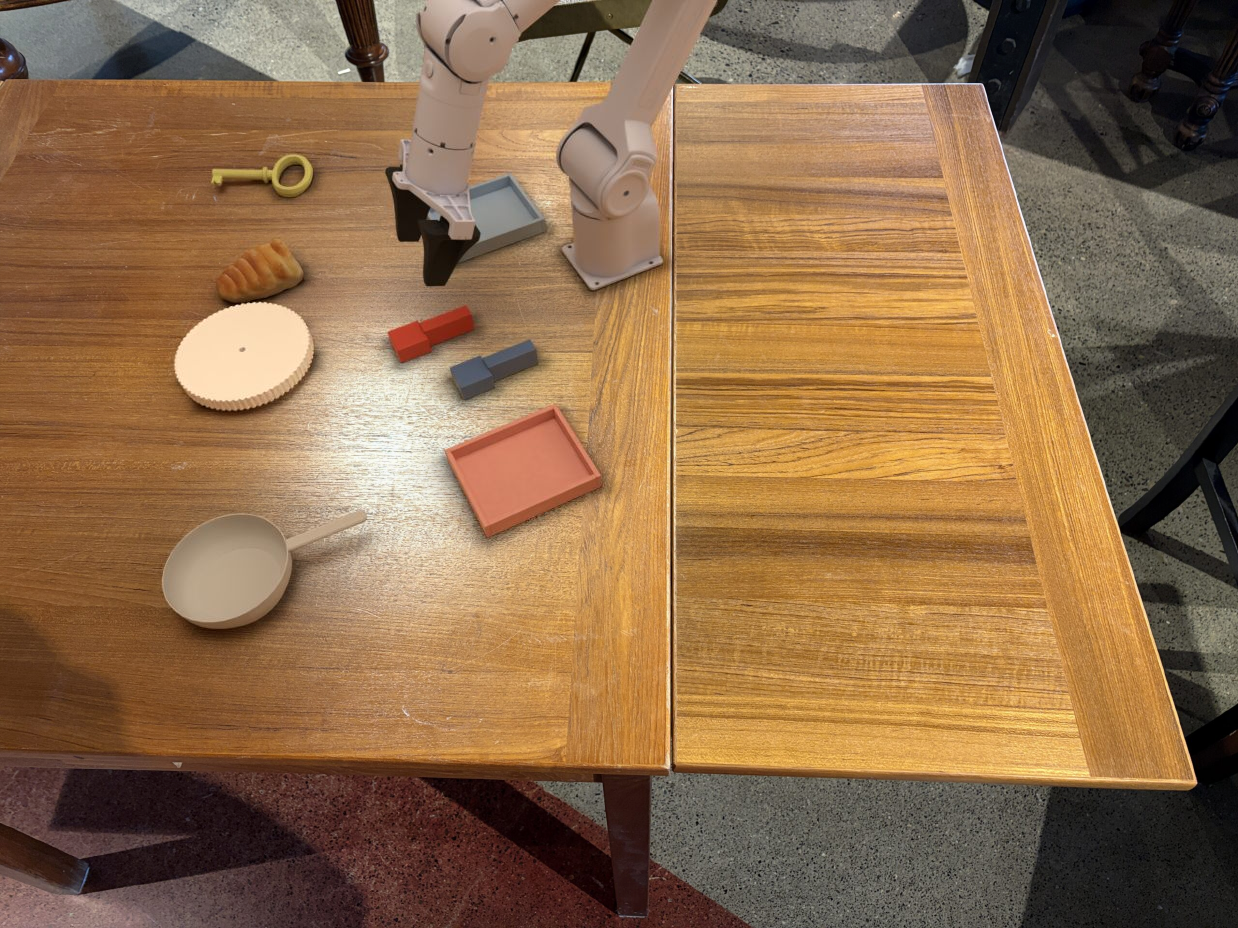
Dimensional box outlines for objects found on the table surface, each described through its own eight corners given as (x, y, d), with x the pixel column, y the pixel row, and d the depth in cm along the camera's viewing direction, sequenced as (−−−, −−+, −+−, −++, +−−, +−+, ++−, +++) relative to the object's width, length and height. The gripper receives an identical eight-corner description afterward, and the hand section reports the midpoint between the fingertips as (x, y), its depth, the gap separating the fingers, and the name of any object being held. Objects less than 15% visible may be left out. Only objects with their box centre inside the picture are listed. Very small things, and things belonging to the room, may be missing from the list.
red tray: (557, 415, 91) (555, 403, 90) (601, 486, 86) (601, 475, 85) (447, 461, 88) (444, 449, 87) (487, 538, 83) (484, 527, 82)
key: (213, 182, 114) (206, 168, 112) (309, 158, 117) (304, 144, 115) (221, 217, 110) (214, 202, 109) (320, 191, 113) (315, 177, 111)
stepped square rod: (529, 349, 97) (526, 334, 95) (541, 369, 95) (539, 353, 93) (452, 379, 94) (448, 364, 92) (464, 400, 93) (460, 385, 91)
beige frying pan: (171, 558, 83) (153, 536, 79) (362, 490, 86) (351, 468, 83) (188, 658, 77) (168, 639, 74) (391, 581, 81) (381, 560, 78)
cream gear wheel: (311, 307, 101) (304, 290, 99) (322, 398, 93) (315, 383, 91) (183, 334, 99) (173, 318, 97) (184, 430, 91) (173, 415, 89)
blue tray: (512, 185, 113) (510, 172, 111) (546, 231, 107) (544, 218, 106) (423, 215, 110) (420, 203, 108) (453, 265, 104) (450, 252, 103)
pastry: (235, 318, 100) (222, 293, 97) (211, 286, 103) (197, 261, 100) (311, 280, 103) (300, 255, 100) (284, 250, 107) (273, 225, 103)
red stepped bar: (466, 315, 100) (463, 300, 98) (478, 334, 98) (474, 318, 96) (391, 344, 97) (386, 329, 95) (401, 363, 96) (396, 348, 94)
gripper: (375, 92, 83) (358, 221, 91) (431, 175, 75) (407, 307, 83) (446, 98, 86) (424, 221, 95) (507, 177, 79) (476, 303, 87)
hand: (420, 261), depth 90 cm, fingers open, 7 cm apart
